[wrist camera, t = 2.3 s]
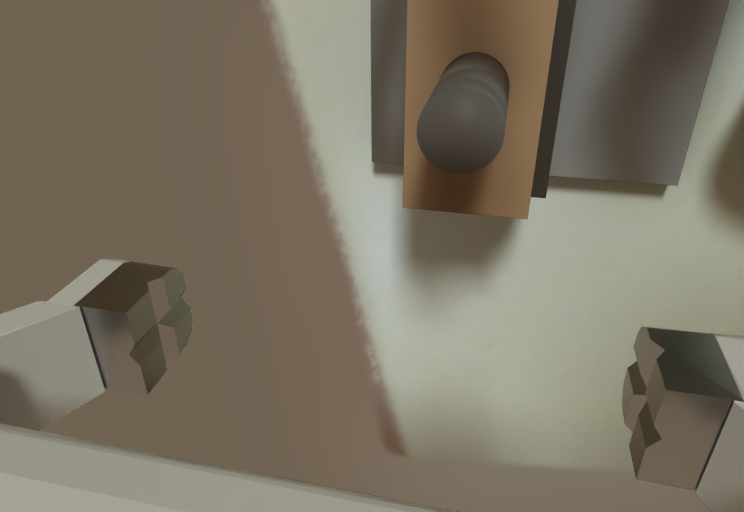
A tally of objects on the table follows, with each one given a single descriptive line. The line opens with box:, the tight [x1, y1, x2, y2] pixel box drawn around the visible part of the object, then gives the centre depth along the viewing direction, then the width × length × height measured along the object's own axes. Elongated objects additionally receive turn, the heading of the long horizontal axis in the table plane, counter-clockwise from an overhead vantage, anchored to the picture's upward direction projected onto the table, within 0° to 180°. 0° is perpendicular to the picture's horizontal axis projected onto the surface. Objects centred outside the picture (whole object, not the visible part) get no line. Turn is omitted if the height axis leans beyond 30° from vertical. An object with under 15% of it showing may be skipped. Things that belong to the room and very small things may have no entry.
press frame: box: [371, 0, 729, 186], centre depth 27 cm, size 34×15×10 cm, turn 90°
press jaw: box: [403, 0, 577, 219], centre depth 26 cm, size 7×12×14 cm, turn 0°
